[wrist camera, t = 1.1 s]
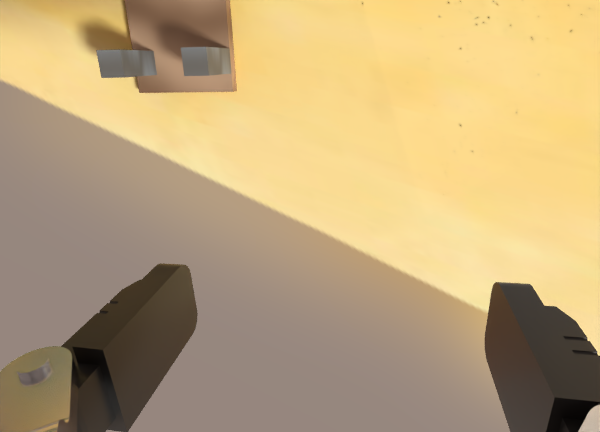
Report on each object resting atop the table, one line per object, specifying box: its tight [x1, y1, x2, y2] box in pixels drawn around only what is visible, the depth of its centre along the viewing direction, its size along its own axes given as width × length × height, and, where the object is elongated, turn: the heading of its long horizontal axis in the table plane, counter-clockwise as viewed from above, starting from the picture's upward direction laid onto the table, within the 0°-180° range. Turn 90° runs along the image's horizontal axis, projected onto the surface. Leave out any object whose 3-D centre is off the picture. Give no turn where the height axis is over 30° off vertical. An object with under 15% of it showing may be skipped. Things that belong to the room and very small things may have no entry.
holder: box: [96, 0, 237, 93], centre depth 32 cm, size 13×9×6 cm
